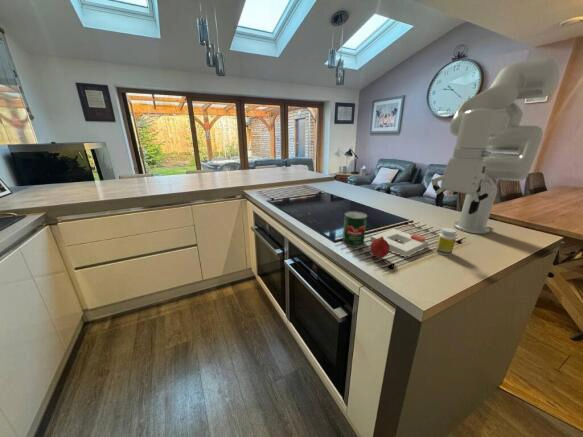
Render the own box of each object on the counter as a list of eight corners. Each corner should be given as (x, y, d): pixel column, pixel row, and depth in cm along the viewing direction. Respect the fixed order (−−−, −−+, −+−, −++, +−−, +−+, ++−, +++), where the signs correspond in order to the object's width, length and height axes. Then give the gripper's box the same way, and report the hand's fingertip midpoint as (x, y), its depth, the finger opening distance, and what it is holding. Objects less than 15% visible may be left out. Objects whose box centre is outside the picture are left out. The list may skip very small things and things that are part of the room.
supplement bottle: (453, 256, 79) (460, 233, 76) (438, 254, 80) (444, 232, 77) (448, 249, 83) (453, 227, 80) (433, 248, 84) (438, 226, 81)
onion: (365, 255, 79) (368, 234, 76) (378, 252, 81) (381, 231, 78) (377, 264, 74) (381, 241, 71) (391, 260, 76) (395, 238, 73)
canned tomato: (356, 236, 93) (359, 210, 90) (368, 245, 86) (371, 216, 83) (338, 239, 91) (340, 212, 87) (349, 247, 84) (352, 219, 80)
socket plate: (392, 234, 96) (394, 226, 94) (427, 247, 85) (429, 238, 83) (370, 242, 88) (371, 234, 87) (405, 258, 77) (406, 248, 76)
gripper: (509, 156, 65) (491, 214, 71) (443, 152, 79) (432, 201, 84) (500, 157, 61) (481, 219, 67) (432, 152, 75) (421, 204, 80)
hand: (454, 209), depth 76 cm, fingers open, 9 cm apart
